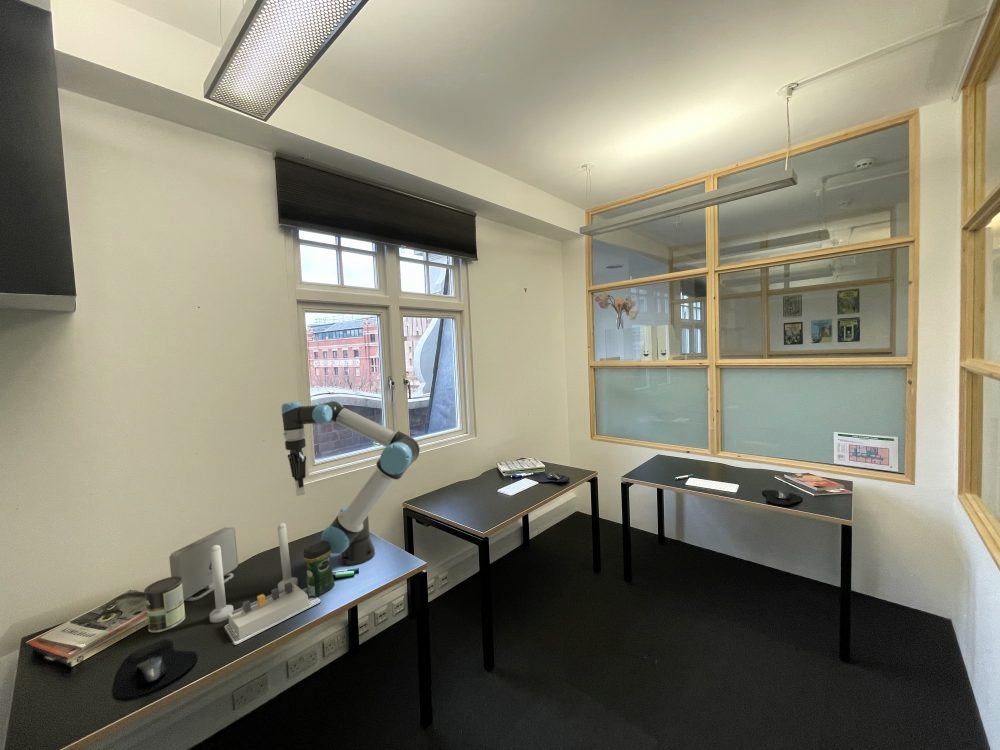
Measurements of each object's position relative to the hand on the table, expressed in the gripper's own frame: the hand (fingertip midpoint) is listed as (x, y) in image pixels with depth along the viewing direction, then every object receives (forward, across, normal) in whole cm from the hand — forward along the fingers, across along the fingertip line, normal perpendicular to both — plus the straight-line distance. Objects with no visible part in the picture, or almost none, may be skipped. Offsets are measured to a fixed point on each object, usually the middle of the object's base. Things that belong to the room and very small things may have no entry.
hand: (300, 494), depth 168 cm
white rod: (+34, +4, -10) cm, 36 cm away
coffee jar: (+35, +17, -3) cm, 39 cm away
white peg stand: (+34, +3, -32) cm, 47 cm away
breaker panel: (+34, +17, -21) cm, 44 cm away
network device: (+34, -26, -30) cm, 52 cm away
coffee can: (+34, -9, -45) cm, 57 cm away
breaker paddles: (+29, +17, -21) cm, 40 cm away
